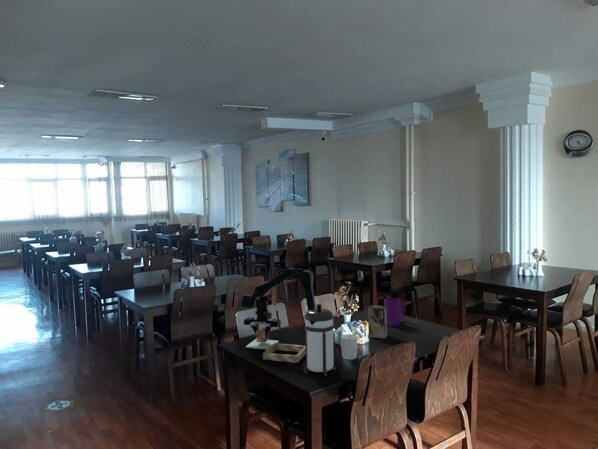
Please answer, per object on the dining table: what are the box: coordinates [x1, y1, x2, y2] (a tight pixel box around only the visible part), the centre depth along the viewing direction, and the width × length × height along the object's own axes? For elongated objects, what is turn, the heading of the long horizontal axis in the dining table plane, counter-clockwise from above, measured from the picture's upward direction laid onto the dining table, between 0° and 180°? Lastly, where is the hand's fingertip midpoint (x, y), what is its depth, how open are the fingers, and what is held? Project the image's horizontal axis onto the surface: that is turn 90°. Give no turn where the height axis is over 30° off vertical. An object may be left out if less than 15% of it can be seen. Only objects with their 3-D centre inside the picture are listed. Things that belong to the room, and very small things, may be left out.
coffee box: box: [367, 305, 388, 339], centre depth 256 cm, size 9×6×16 cm
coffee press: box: [303, 303, 337, 378], centre depth 208 cm, size 17×16×30 cm
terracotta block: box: [255, 327, 269, 343], centre depth 245 cm, size 4×5×6 cm
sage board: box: [245, 338, 280, 351], centre depth 245 cm, size 13×13×1 cm
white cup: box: [340, 333, 359, 361], centre depth 224 cm, size 8×8×10 cm
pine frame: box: [262, 342, 306, 364], centre depth 228 cm, size 17×15×3 cm
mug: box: [383, 297, 405, 327], centre depth 280 cm, size 9×16×15 cm, turn 134°
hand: (262, 338), depth 245 cm, fingers closed on terracotta block, 4 cm apart
